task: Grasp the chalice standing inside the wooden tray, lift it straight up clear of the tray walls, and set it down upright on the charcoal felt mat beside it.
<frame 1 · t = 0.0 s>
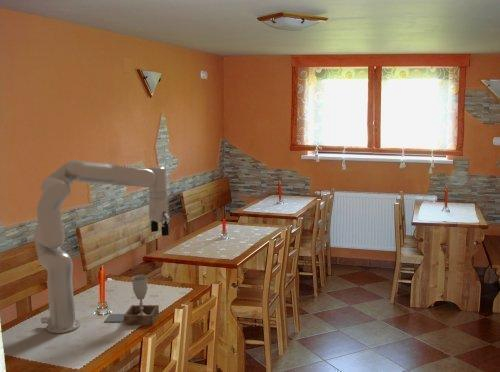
hand: (160, 233, 249), 31 cm above the table, tool pointing down, fingers open, 9 cm apart
wooden tray: (142, 319, 233), on the table
mat: (116, 318, 235), on the table
chalice: (142, 320, 233), resting in wooden tray
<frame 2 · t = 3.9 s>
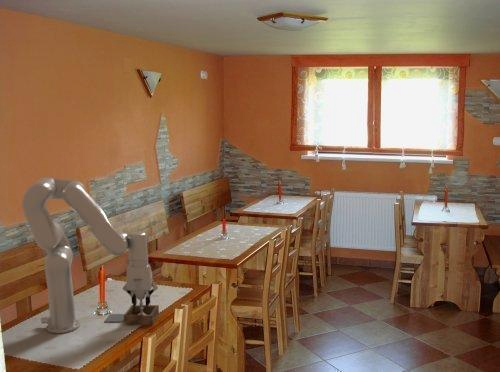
hand: (141, 304, 232), 6 cm above the table, tool pointing down, fingers closed on chalice, 4 cm apart
chalice: (142, 320, 233), resting in wooden tray, touching gripper
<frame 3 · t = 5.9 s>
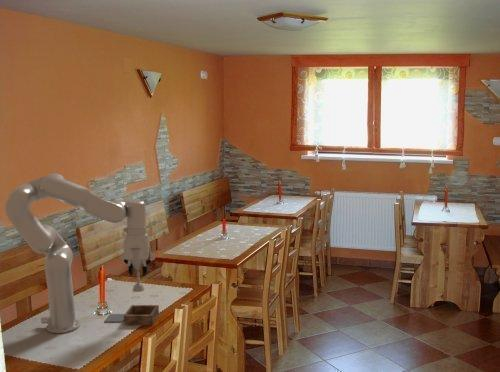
hand: (138, 274, 230), 19 cm above the table, tool pointing down, fingers closed on chalice, 4 cm apart
chalice: (138, 290, 231), point 13 cm above the table, touching gripper
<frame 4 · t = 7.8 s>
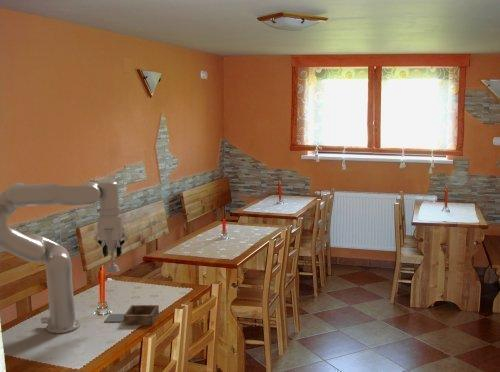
hand: (112, 255, 230), 27 cm above the table, tool pointing down, fingers closed on chalice, 4 cm apart
chalice: (113, 271, 231), point 20 cm above the table, touching gripper
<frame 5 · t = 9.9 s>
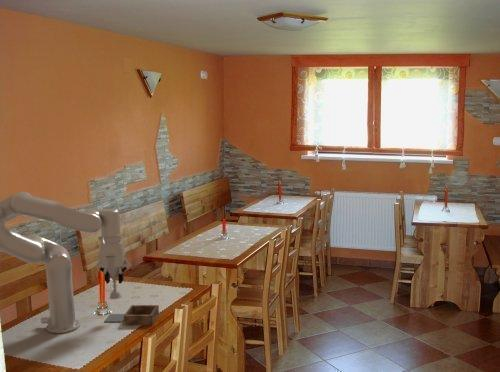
hand: (114, 282, 232), 16 cm above the table, tool pointing down, fingers closed on chalice, 4 cm apart
chalice: (115, 297, 233), point 9 cm above the table, touching gripper
when the fingers open (8 cm above the table, at t = 11.8 s): chalice drops 1 cm, resting on mat.
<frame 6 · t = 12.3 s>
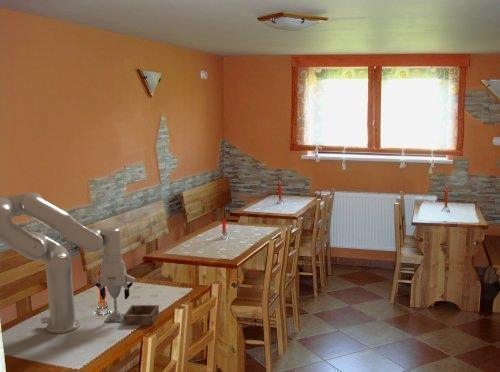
hand: (115, 298, 233), 9 cm above the table, tool pointing down, fingers open, 9 cm apart
chalice: (116, 318, 235), resting on mat
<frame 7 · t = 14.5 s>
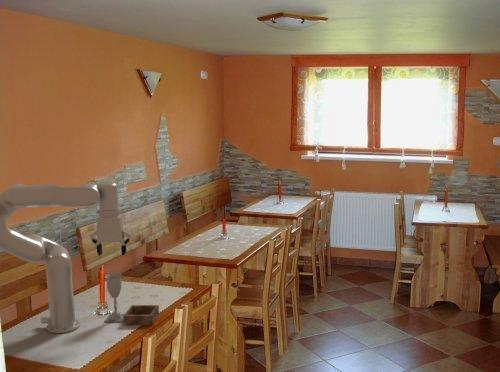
hand: (111, 254, 230), 27 cm above the table, tool pointing down, fingers open, 9 cm apart
nothing on the table moved.
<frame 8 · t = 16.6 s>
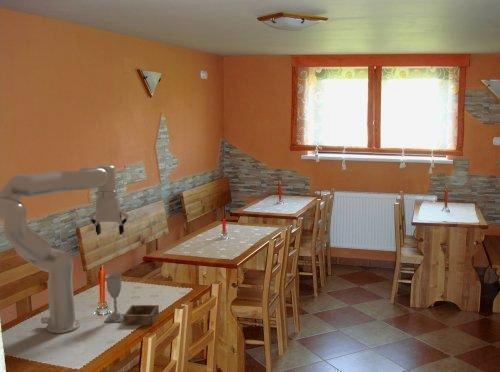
hand: (110, 234, 241), 33 cm above the table, tool pointing down, fingers open, 9 cm apart
nothing on the table moved.
at the end: chalice 0.1 cm off-centre on the mat, point 0.2 cm above the mat's base; chalice tilted 0°; the gripper is holding nothing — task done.
